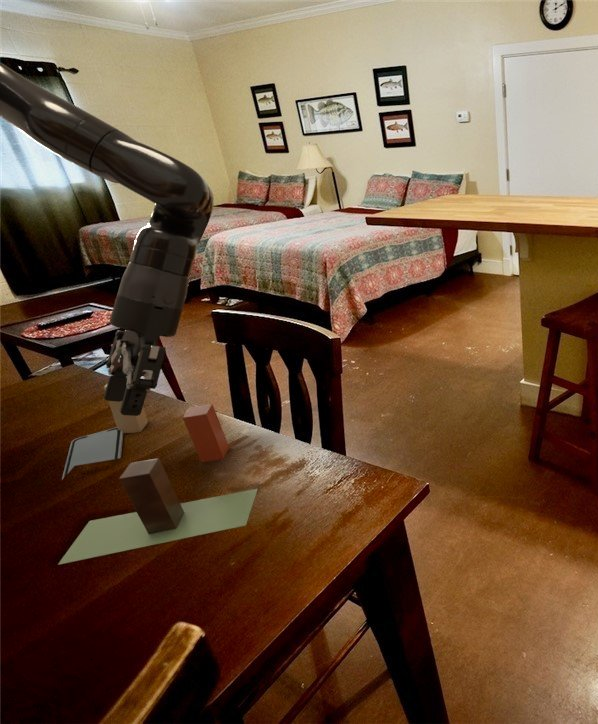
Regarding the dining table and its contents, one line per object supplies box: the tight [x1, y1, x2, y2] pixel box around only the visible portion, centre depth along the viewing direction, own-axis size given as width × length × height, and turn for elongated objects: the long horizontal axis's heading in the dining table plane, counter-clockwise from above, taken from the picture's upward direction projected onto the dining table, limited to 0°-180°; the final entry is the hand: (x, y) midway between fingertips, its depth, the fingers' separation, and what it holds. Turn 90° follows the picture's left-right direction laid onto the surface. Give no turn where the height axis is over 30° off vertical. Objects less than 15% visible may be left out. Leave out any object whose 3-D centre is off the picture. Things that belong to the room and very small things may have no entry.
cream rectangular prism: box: [103, 383, 149, 434], centre depth 89 cm, size 3×3×10 cm
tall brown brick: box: [118, 457, 184, 534], centre depth 66 cm, size 3×3×10 cm
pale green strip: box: [57, 488, 259, 566], centre depth 68 cm, size 22×8×1 cm, turn 107°
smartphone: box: [61, 426, 124, 480], centre depth 83 cm, size 7×1×15 cm
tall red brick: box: [182, 403, 230, 463], centre depth 80 cm, size 3×3×10 cm
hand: (121, 407), depth 68 cm, fingers open, 8 cm apart
